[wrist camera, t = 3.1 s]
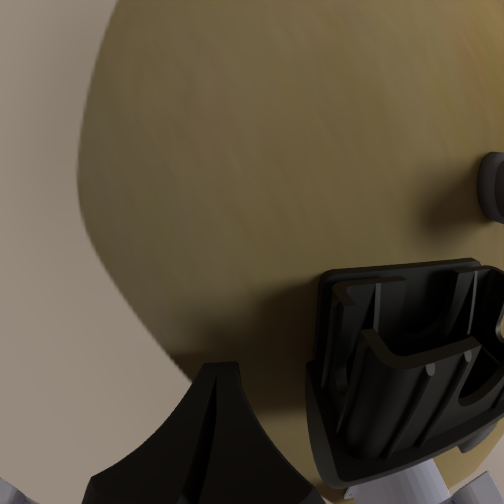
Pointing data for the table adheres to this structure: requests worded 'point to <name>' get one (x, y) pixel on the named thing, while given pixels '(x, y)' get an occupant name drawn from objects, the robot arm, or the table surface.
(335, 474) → the end cap
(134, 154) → the table surface
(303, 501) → the robot arm
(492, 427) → the dark grey cylinder
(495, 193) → the gray rounded knob
